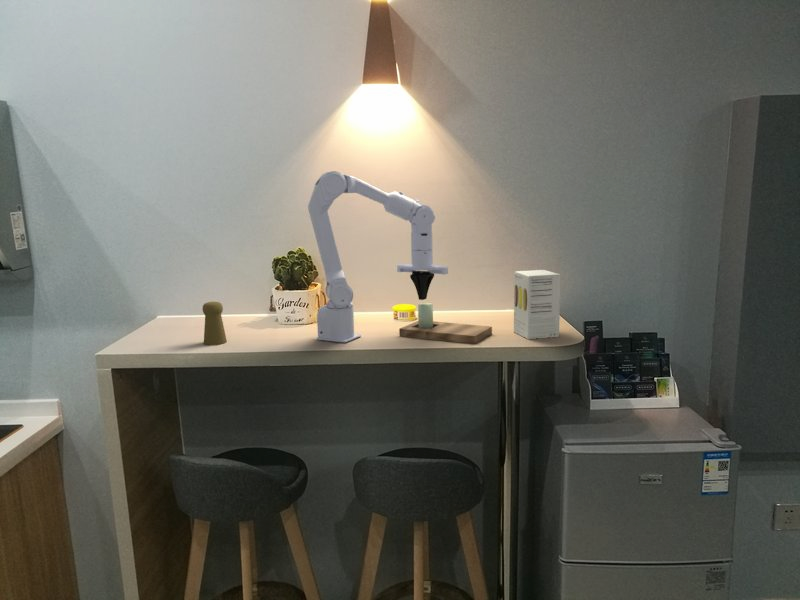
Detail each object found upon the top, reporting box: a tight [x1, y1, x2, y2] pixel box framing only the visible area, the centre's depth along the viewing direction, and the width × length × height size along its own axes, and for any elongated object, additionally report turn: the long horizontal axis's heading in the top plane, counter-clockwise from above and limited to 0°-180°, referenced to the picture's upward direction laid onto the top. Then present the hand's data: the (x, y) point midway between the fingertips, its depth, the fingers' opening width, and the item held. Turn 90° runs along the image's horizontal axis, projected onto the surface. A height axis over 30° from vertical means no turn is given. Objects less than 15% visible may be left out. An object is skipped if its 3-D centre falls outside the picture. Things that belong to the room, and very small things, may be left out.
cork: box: [202, 301, 227, 346], centre depth 170 cm, size 6×6×11 cm
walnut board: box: [398, 320, 493, 345], centre depth 173 cm, size 22×12×2 cm, turn 61°
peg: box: [417, 302, 434, 329], centre depth 176 cm, size 4×4×8 cm
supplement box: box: [513, 269, 562, 340], centre depth 170 cm, size 10×9×17 cm
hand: (422, 299), depth 175 cm, fingers closed
